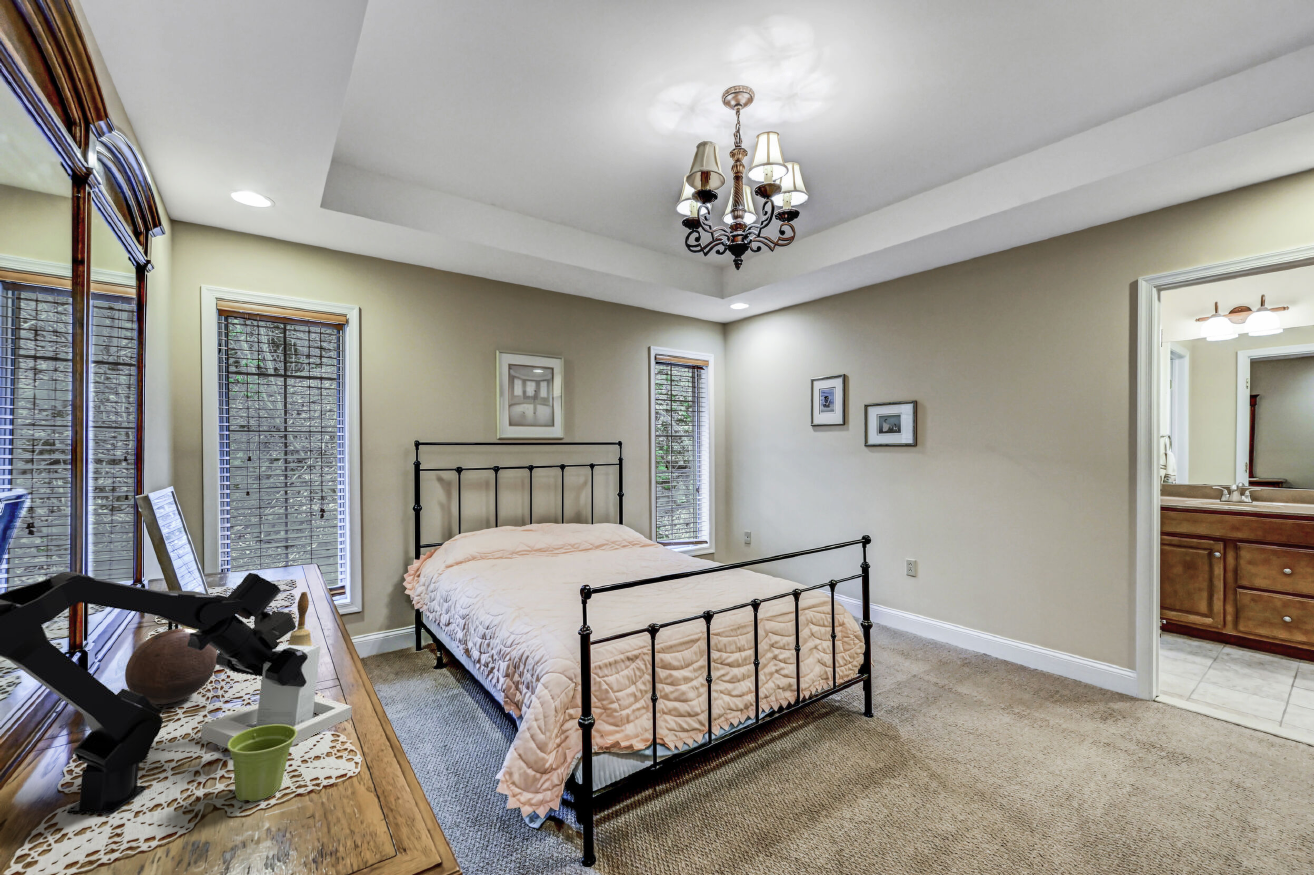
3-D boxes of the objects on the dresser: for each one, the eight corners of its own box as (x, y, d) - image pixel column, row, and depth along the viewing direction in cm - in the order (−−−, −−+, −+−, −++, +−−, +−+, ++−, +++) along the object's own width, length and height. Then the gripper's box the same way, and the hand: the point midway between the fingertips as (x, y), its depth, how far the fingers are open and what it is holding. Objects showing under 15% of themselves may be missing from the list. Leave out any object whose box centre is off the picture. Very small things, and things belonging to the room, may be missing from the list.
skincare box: (312, 721, 116) (324, 645, 119) (293, 731, 110) (306, 650, 113) (272, 718, 117) (285, 642, 119) (251, 728, 111) (265, 648, 114)
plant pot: (281, 768, 100) (285, 718, 100) (302, 791, 94) (305, 737, 94) (215, 791, 92) (220, 736, 93) (233, 817, 86) (237, 759, 87)
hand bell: (283, 648, 156) (288, 589, 156) (318, 645, 159) (323, 588, 160) (278, 658, 148) (282, 597, 149) (315, 655, 152) (319, 595, 152)
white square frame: (260, 760, 102) (262, 746, 102) (200, 738, 108) (201, 724, 108) (351, 718, 119) (351, 706, 119) (294, 701, 125) (295, 689, 125)
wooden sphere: (229, 696, 126) (234, 627, 126) (145, 723, 112) (151, 646, 113) (190, 681, 132) (196, 616, 133) (107, 705, 118) (113, 632, 119)
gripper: (302, 609, 107) (349, 651, 117) (237, 594, 114) (287, 635, 124) (255, 664, 99) (309, 705, 109) (189, 645, 106) (246, 685, 116)
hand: (288, 679), depth 115 cm, fingers open, 9 cm apart
